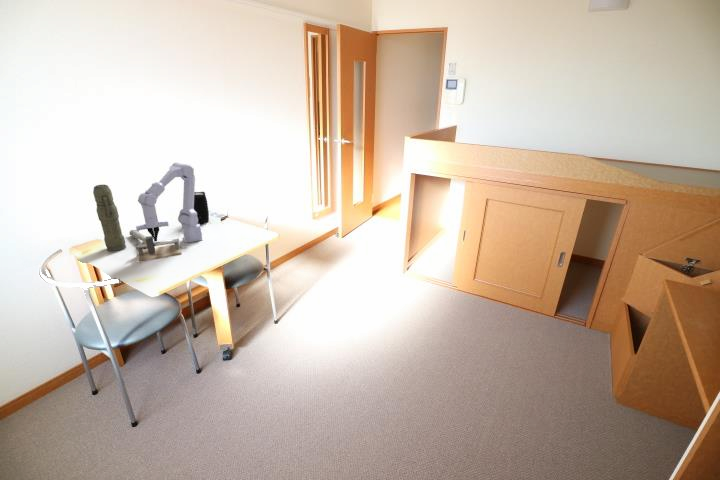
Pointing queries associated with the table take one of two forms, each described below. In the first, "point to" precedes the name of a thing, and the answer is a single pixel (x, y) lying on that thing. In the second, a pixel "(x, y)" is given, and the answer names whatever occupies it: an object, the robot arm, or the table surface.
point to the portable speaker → (201, 207)
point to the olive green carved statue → (109, 218)
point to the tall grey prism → (150, 245)
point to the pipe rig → (159, 250)
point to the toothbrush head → (138, 236)
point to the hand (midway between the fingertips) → (155, 240)
